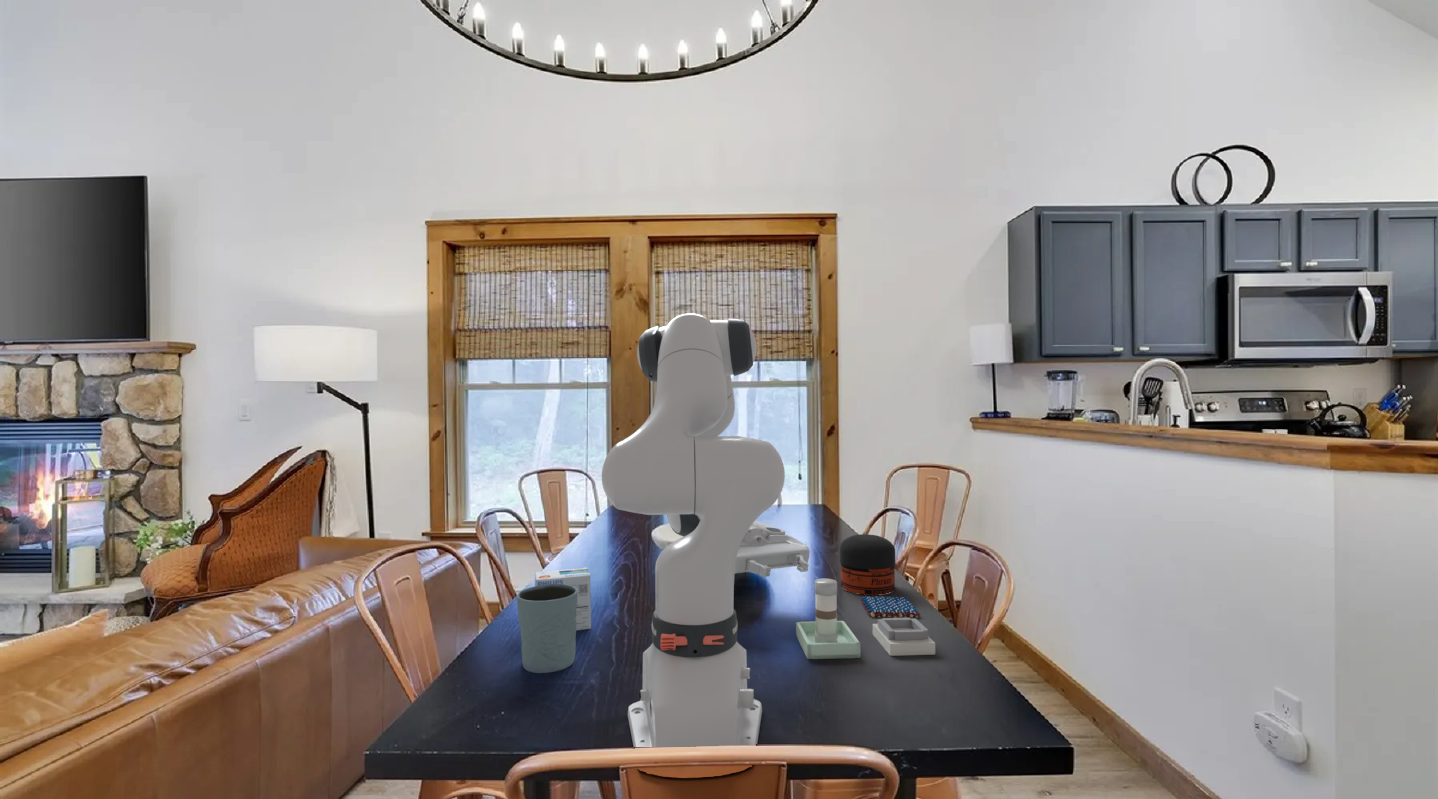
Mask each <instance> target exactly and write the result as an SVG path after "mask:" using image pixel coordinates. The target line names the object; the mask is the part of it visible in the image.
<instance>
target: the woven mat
mask: <svg viewBox="0 0 1438 799" xmlns="http://www.w3.org/2000/svg"><path fill="white" fill-rule="evenodd" d="M860 601H861V604H862V605H863V606H864V607H863V608H865V610H866V613H868V614H867V615H868V616H869V617H872V618H875V617H877V618H881V617H883V618H910V619H912V618H914V617H915V618H916V619H918V618H919V616H920V615H921V613H920V612H919V610H918V609H917V608H915V607H916V606H915V605H913V603H912V602H911V601H909V598H908V597H907V596H887V595H886V596H881V595H880V596H867V595H864V596H863V597H861V599H860ZM890 612H891V613H890Z"/></svg>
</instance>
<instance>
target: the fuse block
mask: <svg viewBox="0 0 1438 799" xmlns="http://www.w3.org/2000/svg"><path fill="white" fill-rule="evenodd" d="M929 632H930V631H929V629H928V628H927V627H926V626H924V625H923V624H922V623H921V622H920V621H919V620H918V618H916V617H915V618H914V617H913V618H910V617H897V618H894V617H883V618H879V619H878V618H877V623H872V635H873V637H874V638H875V639H876V640H877V642H878V643H879V644H880V646H881V647H882V648H883V650H885V652H887V654H888V655H889V656H892V657H893V656H923V655H924V656H926V655H927V656H928V655H932V656H933V655H936V642H935V641H934V640H933V639H931V637H930V635H929Z"/></svg>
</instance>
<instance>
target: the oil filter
mask: <svg viewBox="0 0 1438 799" xmlns="http://www.w3.org/2000/svg"><path fill="white" fill-rule="evenodd" d="M839 563H840V588H841V587H842V588H844V589H846V590H847V591H849V592H848V593H850V592H854V593H859V594H864V595H863V596H867V595H879V594H886V593H889V592H893V591H894V590H895V588H896V583H895V582H896V581H895V580H896V576H895V575H896V574H895V572H896V570H895V566H896V548H895V545H894V544H893V543H892V542H891V541H889V540H888V539H887V538H886V537H882V536H880V535H876V534H868V533H865V534H862V533H861V534H860V533H859V534H855V535H850V536H847V537H846V538H844V539H843V540H842V542H841V543H840V545H839ZM842 588H841V589H842ZM847 591H846V592H847ZM895 591H896V590H895ZM895 591H894V592H895ZM894 592H893V593H894Z"/></svg>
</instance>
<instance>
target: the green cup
mask: <svg viewBox="0 0 1438 799" xmlns="http://www.w3.org/2000/svg"><path fill="white" fill-rule="evenodd" d="M577 598H578V589H577V588H576V587H574V586H571V585H566V584H548V585H540V586H535V585H534V586H532V587H529V588H526V589H522V590H521V591H519V592H518V593H517V594H516V605H517V613H518V624H519V629H520V632H519V633H520V640H521V649H520V650H521V657H522V658H521V660H522V666H523V668H524V670H526V671H528V672H530V673H534V674H535V673H536V674H549V673H553V672H559V671H563V670H565V669H567V668H568V667H570V666H572V665H573V664H574V662H575V658H576V646H577V642H576V641H577V640H576V637H577V636H576V635H577V630H576V616H577V612H576V609H577Z"/></svg>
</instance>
